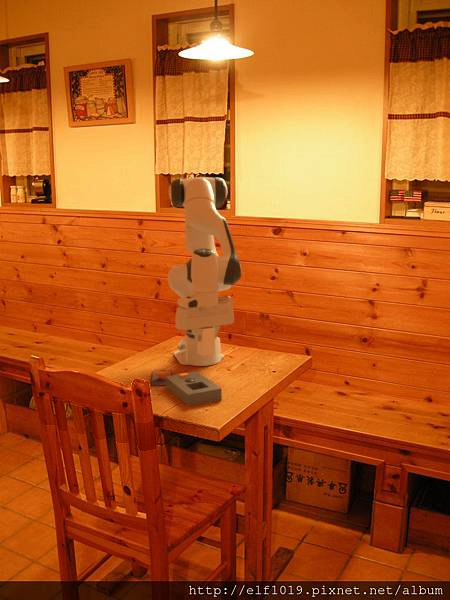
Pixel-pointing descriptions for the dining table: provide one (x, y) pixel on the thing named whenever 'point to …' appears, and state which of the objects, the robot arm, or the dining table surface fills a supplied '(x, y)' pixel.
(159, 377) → the smartphone
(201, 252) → the robot arm
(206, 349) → the block with round knob
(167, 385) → the grey rectangular box
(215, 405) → the dining table surface
